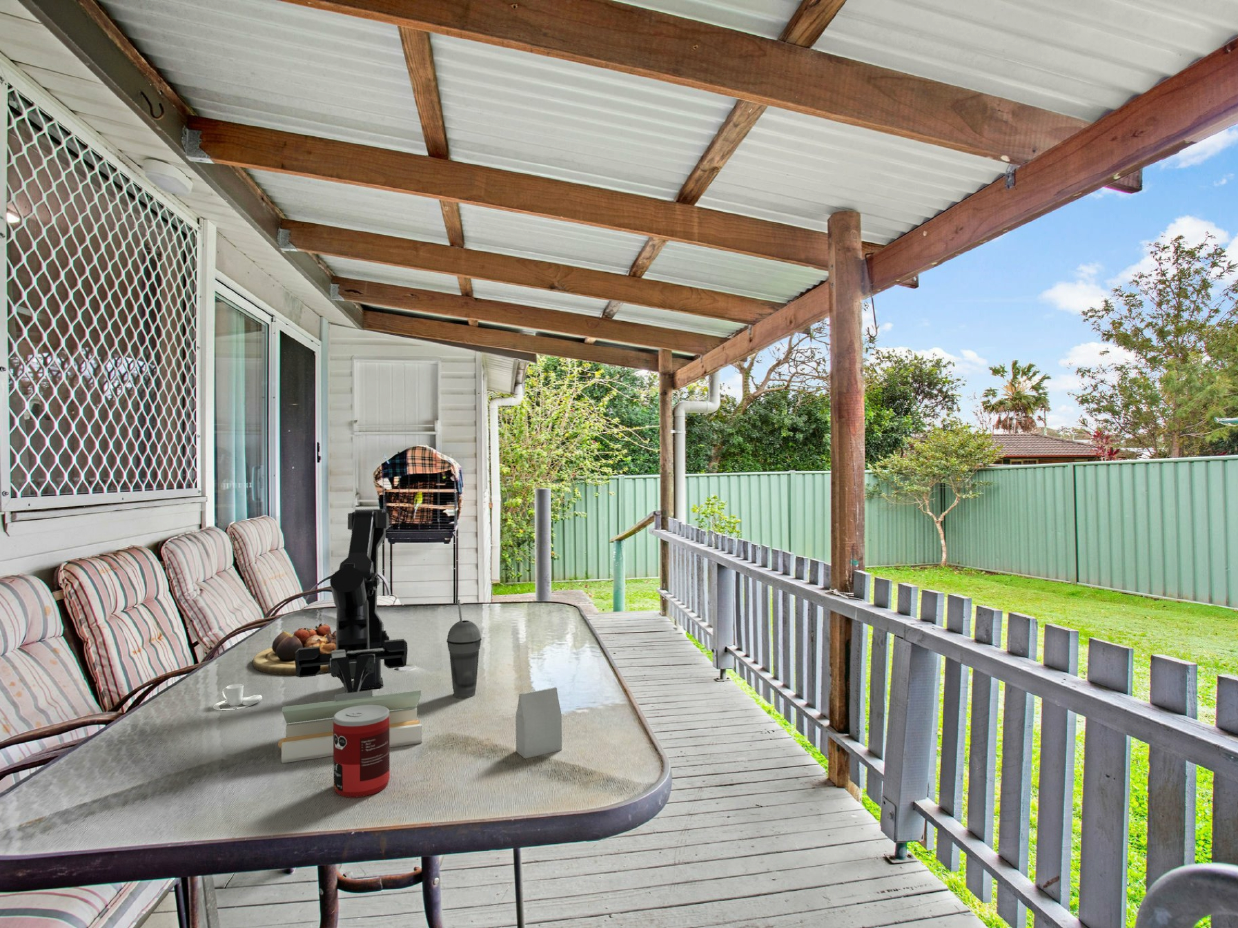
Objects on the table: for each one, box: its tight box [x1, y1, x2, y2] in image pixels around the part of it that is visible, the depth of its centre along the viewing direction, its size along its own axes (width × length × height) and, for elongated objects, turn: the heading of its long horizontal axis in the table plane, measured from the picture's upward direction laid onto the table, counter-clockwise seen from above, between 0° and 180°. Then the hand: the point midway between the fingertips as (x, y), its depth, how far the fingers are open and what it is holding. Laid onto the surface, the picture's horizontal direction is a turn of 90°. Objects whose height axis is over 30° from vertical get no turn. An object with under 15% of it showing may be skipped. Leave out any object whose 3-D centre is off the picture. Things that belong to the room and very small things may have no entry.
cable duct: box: [281, 707, 423, 764], centre depth 121 cm, size 10×22×3 cm, turn 111°
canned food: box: [332, 705, 391, 798], centre depth 104 cm, size 8×8×11 cm
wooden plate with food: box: [252, 622, 336, 676], centre depth 178 cm, size 32×32×8 cm
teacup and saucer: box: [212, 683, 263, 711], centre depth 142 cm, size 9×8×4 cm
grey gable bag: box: [515, 686, 563, 759], centre depth 117 cm, size 4×7×10 cm, turn 121°
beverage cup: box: [446, 599, 483, 699], centre depth 147 cm, size 7×7×20 cm
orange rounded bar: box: [277, 719, 421, 750], centre depth 121 cm, size 2×23×2 cm, turn 111°
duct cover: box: [281, 689, 422, 725], centre depth 122 cm, size 10×22×2 cm, turn 111°
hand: (352, 700), depth 120 cm, fingers closed, pressing on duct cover
